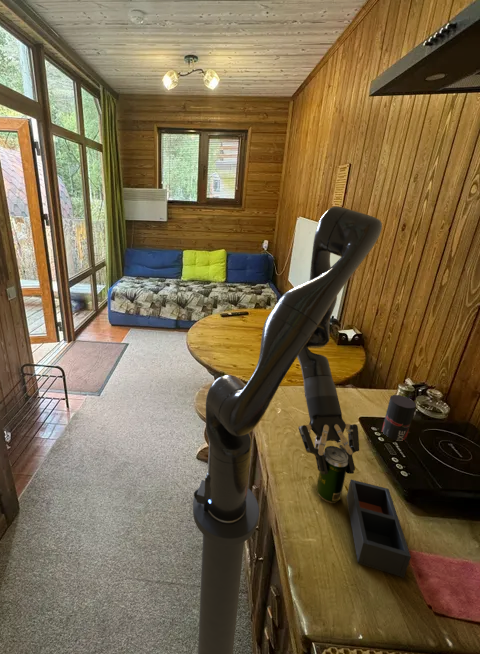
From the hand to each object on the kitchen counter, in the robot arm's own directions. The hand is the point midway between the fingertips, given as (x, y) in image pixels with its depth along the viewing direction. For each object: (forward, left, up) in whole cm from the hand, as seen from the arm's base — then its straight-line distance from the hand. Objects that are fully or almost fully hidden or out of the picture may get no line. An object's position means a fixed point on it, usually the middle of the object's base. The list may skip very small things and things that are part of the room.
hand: (337, 473), depth 69 cm
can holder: (+7, -5, -8) cm, 12 cm away
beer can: (-1, +2, -8) cm, 9 cm away
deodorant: (+18, +25, -8) cm, 32 cm away
